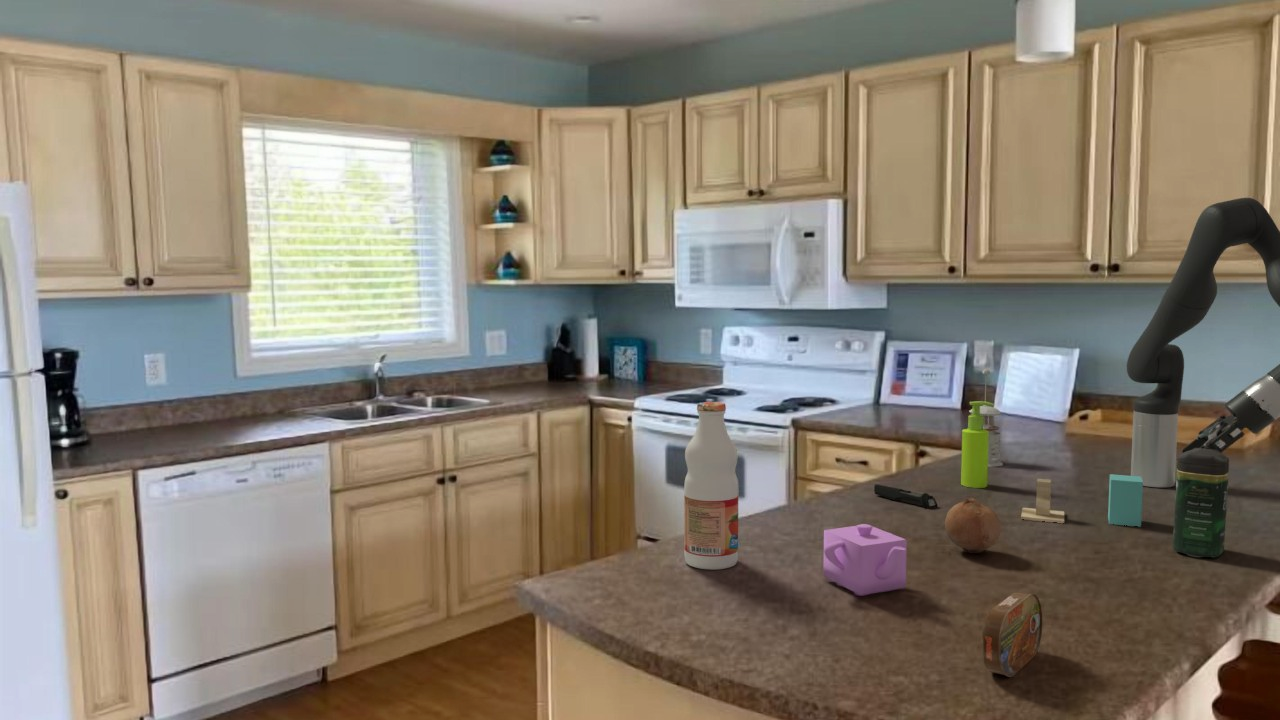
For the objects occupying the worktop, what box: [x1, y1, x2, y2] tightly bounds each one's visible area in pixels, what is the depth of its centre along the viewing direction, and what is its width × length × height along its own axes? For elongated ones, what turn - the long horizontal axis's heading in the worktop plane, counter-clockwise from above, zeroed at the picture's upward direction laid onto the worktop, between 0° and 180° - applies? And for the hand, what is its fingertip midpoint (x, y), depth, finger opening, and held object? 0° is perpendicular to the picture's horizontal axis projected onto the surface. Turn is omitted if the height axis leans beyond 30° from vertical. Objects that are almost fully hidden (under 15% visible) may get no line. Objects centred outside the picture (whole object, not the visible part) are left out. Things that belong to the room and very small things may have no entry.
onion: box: [944, 497, 1002, 554], centre depth 166 cm, size 10×9×10 cm
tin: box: [981, 591, 1043, 678], centre depth 119 cm, size 15×3×8 cm, turn 138°
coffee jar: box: [1172, 448, 1230, 558], centre depth 165 cm, size 10×8×19 cm
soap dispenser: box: [960, 400, 995, 489], centre depth 219 cm, size 6×7×20 cm
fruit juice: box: [683, 401, 739, 571], centre depth 160 cm, size 9×9×28 cm
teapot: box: [822, 523, 908, 597], centre depth 147 cm, size 18×14×10 cm
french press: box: [968, 368, 1004, 468], centre depth 245 cm, size 10×12×25 cm
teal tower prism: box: [1107, 473, 1144, 528], centre depth 186 cm, size 6×6×9 cm
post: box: [1020, 478, 1065, 524], centre depth 190 cm, size 8×8×8 cm
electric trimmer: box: [873, 483, 938, 510], centre depth 204 cm, size 4×16×3 cm, turn 36°
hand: (1187, 458), depth 181 cm, fingers open, 8 cm apart
